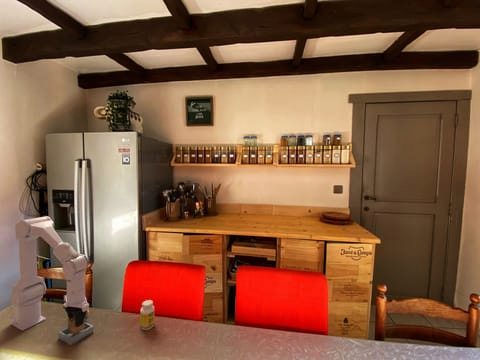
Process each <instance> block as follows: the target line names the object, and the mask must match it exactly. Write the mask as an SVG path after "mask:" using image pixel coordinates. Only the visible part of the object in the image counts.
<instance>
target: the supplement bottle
mask: <svg viewBox="0 0 480 360" xmlns="http://www.w3.org/2000/svg"><path fill="white" fill-rule="evenodd" d="M141 306H142V307H140V312H139V313H140V315H139V327H140V329H141V330H143V331H148V330H150V329H152V328H153V327H154V326H155V306H154V302H153V300H151V299H149V300H148V299H146V300H145V301H143V302H142V304H141Z"/></svg>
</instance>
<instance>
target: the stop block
mask: <svg viewBox="0 0 480 360" xmlns="http://www.w3.org/2000/svg"><path fill="white" fill-rule="evenodd" d="M85 322H86V320H85V318H84V322H83V324H82V325H80V326H79V327H76V325H75V320H74V317H72V318H70V319H69V318H68V319H67V327H68V332H70V333H71V334H72V335H74V334H76V333H78V332H80V331H82V330H84V329H85Z"/></svg>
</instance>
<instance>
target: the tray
mask: <svg viewBox="0 0 480 360" xmlns="http://www.w3.org/2000/svg"><path fill="white" fill-rule="evenodd" d="M93 333H94V325H92V324H90V323H88V322H87V321H85V329H84V330H82V331H80V332H78V333H76V334H74V335H72V334H71V333H70V332H68V326H67V327H66V328H63V329H62V330H60V331H58V340H60V341H62V342H64V343H66V344H68V345H69V346H71V347H72V346H73V345H75V344H76V343H78V342H80V341H82V340H83V339H85V338H86V337H88V336H89V335H91V334H93Z"/></svg>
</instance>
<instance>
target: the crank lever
mask: <svg viewBox="0 0 480 360" xmlns="http://www.w3.org/2000/svg"><path fill="white" fill-rule="evenodd" d="M89 319H90V309H89V310H88V311H87V312H86V315H85V321H87V320H89Z"/></svg>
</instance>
